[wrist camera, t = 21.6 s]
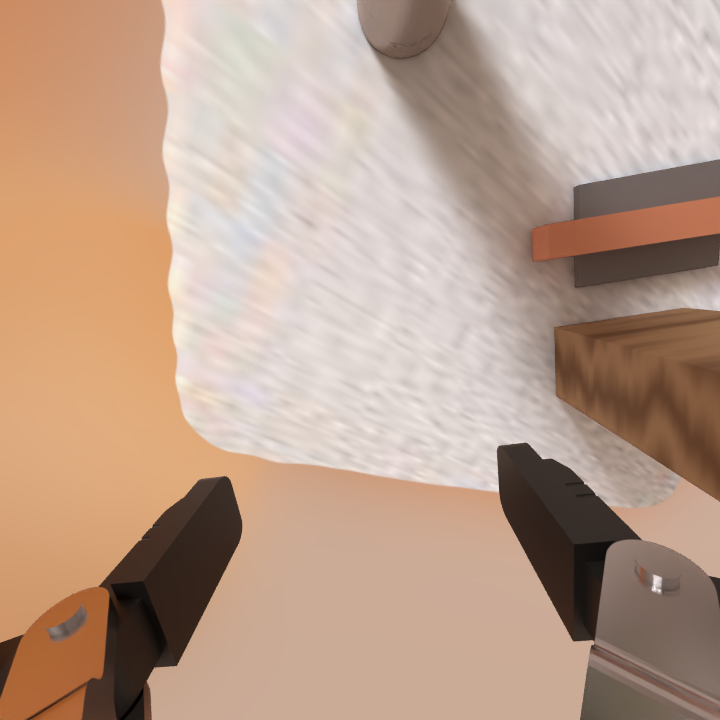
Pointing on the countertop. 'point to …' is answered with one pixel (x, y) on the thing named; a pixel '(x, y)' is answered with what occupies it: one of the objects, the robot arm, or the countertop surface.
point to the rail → (627, 229)
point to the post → (650, 385)
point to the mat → (640, 195)
